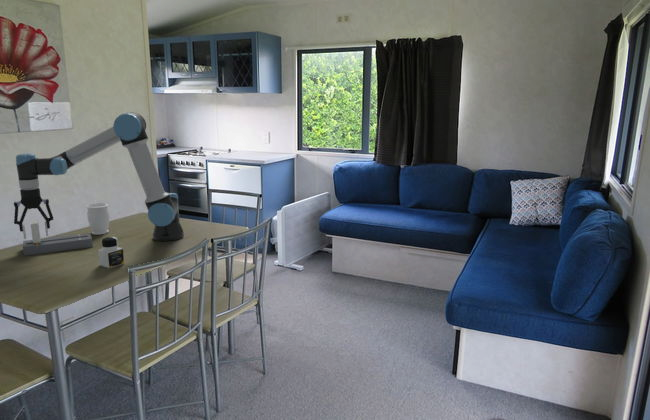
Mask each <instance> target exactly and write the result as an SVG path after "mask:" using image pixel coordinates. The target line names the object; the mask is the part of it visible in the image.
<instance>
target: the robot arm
mask: <svg viewBox="0 0 650 420" xmlns="http://www.w3.org/2000/svg"><path fill="white" fill-rule="evenodd" d="M146 130H147V122H146V120H145V117H143V116H142V115H141V114H139V113H137V112H125V113H121V114H119V115H118V116H117V117H115V120H114V121H113V126H111V127H110V128H107V129H105V130H103V131H101V132H100V133H98V134H96V135H94V136H92V137H90V138H88V139H86V140H85V141H83V142H80V143H78V144H77V145H75V146H72V147H71V148H68V149H67V150H66V151H63V152H61V153H59V154H58V155H55V156H51V157H49V158H48V157H47V158H44V157H43V158H38V157H36V154H35V153H21V154H17V155H16V156H15V160H16V161H15V163H16V164H15V165H16V170H17V176H18V186H19V188H20V190H19V191H20V192H19V193H20V200H19V201H14V202H13V206H14V217H13V218H14V219H13V224H15V225H18V226H19V227H18V228H19V231H20V232H22V233H23V239H24V240H25V239H27V234H26V226H25V223H24V220H25V217H26V214H27V212H28V210H31V209H34V210H35V209H37V210H38V212H39V213H40V214H41V216H42V217H43V219H44V228H45V233H46V234H45V235H46V237H49V230H48V229H50V228H51V224H50V222H51V221H54V216H53V213H52V210H51V206H50V205H49V202H50V200H49V198H46V199H43V198H42V197H41V191H40V183H39V182H40V181H39V176H61V175H62V176H63V175H66V173H67V172H68V170H69V169H70V168H72V167H74V166H76V165H77V164H79V163H82V162H83V161H85V160H87V159H90V158H91V157H93V156H95V155H97V154H98V153H101V152H103V151H105V150H107V149H109V148H110V147H113V146H114V145H116V144H118V143H120V142H121V145H122V147H124V148H125V149H127V150H128V152H129V156H130V158H131V161H132V164H133V166H134V168H135V171H136V174H137V177H138V178H139V181H140V184H141V187H142V189H143V193H144V194H145V196H146V197H145V200H144V204H145V206H146V209H147V218H148V220H149V221H150V223H152V224H153V225H154V228H153V232H152V239H153V240H155V241H158V242H170V241H176V240H180V238H181V239H182V238H184V237H183V236H184V233H185V232H184V228H182V225H181V223H180V213H179V212H180V211H179V209H180V208H179V195H178V194H177V193H176V192H175V193H174V192H166V191H165V188H164V187H163V184H162V180H161V178H160V175H159V173H158V171H157V168H156V167H157V166H156V165H155V163H154V160H153V158H152V155H151V152H150V149H149V146H148V144H147V142H148V141H149V137H148V135H147V132H146ZM41 203H43V204H44V205H45V207H46V211H47V213H48V216H47V214H46V213H45V211H44V210H43V208H42V207H41ZM20 205H22V206H23V211H22V214H21V216H20V219H19V220H18V218H19V207H20Z"/></svg>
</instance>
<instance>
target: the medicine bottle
mask: <svg viewBox="0 0 650 420" xmlns="http://www.w3.org/2000/svg"><path fill="white" fill-rule="evenodd" d="M101 245H102V247H101V248H100V249H98V250H97V251H98V263H99V266H101V267H104V268H107V269H112V268H115V267H118V266H122V265H124V264H125V259H124V258H125V257H124V248H123V247H119V243H118V238H117V237H115V236H107V237H104V238H102V240H101Z"/></svg>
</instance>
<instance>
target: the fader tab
mask: <svg viewBox="0 0 650 420" xmlns="http://www.w3.org/2000/svg"><path fill="white" fill-rule="evenodd" d="M30 231H31V238H32V239H31V240H33V243H40V242H41V239H42V238H41V237H42V236H41V232H40V231H41V230H40V224H39V220H32V221H30Z"/></svg>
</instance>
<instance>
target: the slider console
mask: <svg viewBox="0 0 650 420" xmlns="http://www.w3.org/2000/svg"><path fill="white" fill-rule="evenodd" d="M93 246H94V245H93V238H92V234H91V233H90V232H87V233H78V234H71V235H63V236H62V235H61V236H54V237H46V238H41V242H40V243H33V239H30V240H23V241H22V251H23V256H32V255H40V254H48V253H55V252H62V251H64V252H65V251H70V250H76V249H78V250H79V249H85V248H92V247H93Z"/></svg>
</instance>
